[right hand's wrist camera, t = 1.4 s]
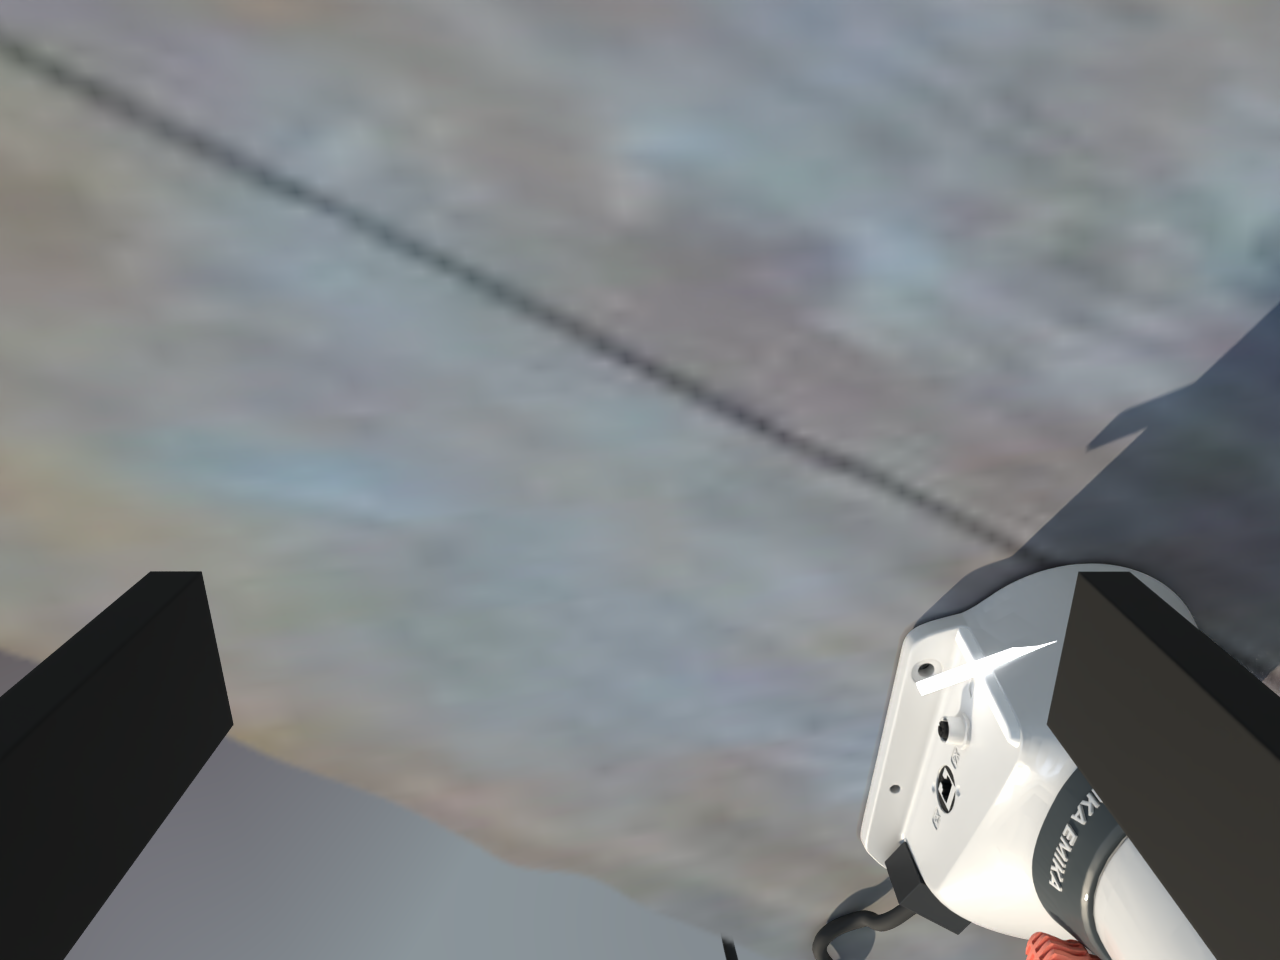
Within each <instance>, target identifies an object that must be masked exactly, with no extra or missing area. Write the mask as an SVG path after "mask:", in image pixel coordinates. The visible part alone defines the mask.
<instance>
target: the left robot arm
mask: <svg viewBox="0 0 1280 960" xmlns="http://www.w3.org/2000/svg"><path fill="white" fill-rule="evenodd" d="M1078 572H1131V573H1132V574H1133V575H1134V576H1136V577H1137V578H1138V579H1139V580H1140V581H1141V582H1143V583H1144V584H1145V585H1146V586H1147V587H1149V588H1150V589H1151V590H1152V591H1153V592H1155V593H1156V594H1157V595H1158V596H1159V597H1161V598H1162V599H1163V600H1164V601H1165V602H1167V603H1168V604H1169V605H1170V606H1171V607H1173V608H1174V609H1175V610H1176V611H1177V612H1179V613H1180V614H1181V615H1182V616H1183V617H1185V618H1186V619H1187V620H1188V621H1189V622H1191V623H1192V624H1193V625H1194V626H1195V627H1196V628H1198V627H1197V625H1196V623H1195V621H1194V619H1193V617H1192V615H1191V613H1190V611H1189V610H1188V608H1187V607H1186V605H1185V604H1184V603H1183V601H1182V600H1181V599H1180V598H1179V597H1178V596H1177V595H1176V594H1175V593H1174V592H1173V591H1172V590H1171V589H1170V588H1168V587H1167V586H1166V585H1164V584H1163V583H1161V582H1160V581H1158V580H1156V579H1155V578H1153V577H1151V576H1149V575H1147V574H1144V573H1142V572H1139V571H1136V570H1133V569H1130V568H1126V567H1122V566H1116V565H1110V564H1094V563H1087V564H1073V565H1066V566H1060V567H1055V568H1051V569H1047V570H1043V571H1040V572H1037V573H1034V574H1031V575H1029V576H1026V577H1024V578H1022V579H1019V580H1017V581H1015V582H1013V583H1011V584H1009V585H1007V586H1005V587H1004V588H1002V589H1000V590H999V591H997V592H995V593H994V594H992V595H991V596H989V597H988V598H986V599H985V600H983V601H982V602H980V603H979V604H977V605H976V606H974V607H972V608H971V609H969V610H967V611H965V612H963V613H960V614H956V615H951V616H948V617H944V618H940V619H936V620H933V621H930V622H927V623H924V624H922V625H919V626H917V627H916V628H914V629H913V630H911V631H910V632H909V633H908V634H907V636H906V638H905V639H904V642H903V646H902V650H901V654H900V659H899V663H898V667H897V672H896V676H895V681H894V685H893V690H892V694H891V698H890V703H889V707H888V712H887V716H886V720H885V725H884V729H883V734H882V738H881V743H880V747H879V751H878V756H877V760H876V765H875V769H874V773H873V778H872V782H871V787H870V791H869V796H868V800H867V804H866V809H865V813H864V818H863V823H862V827H861V836H860V837H861V841H862V843H863V845H864V847H865V849H866V851H867V852H868V853H869V854H870V855H871V856H872V857H873V858H874V859H875V860H876V861H877V862H878V863H879V864H880V865H882V866H883V867H884V868H886V869H887V871H888V874H889V877H890V880H891V882H892V885H893V888H894V891H895V894H896V897H897V900H898V902H899V905H898V906H897V907H895V908H894V909H892V910H890V911H889V912H886V913H884V914H881V915H877V914H876V913H874V912H871V911H866V910H863V911H858V912H855V913H851V914H848V915H845V916H842V917H840V918H837V919H835V920H833V921H831V922H830V923H828V924H827V925H825V926H824V927H823V928H822V929H821V930H820V931H819V932H818V933H817V935H816V937H815V940H814V942H813V949H812V950H813V954H814V956H815V959H816V960H833V959H832V958H831V957H830V956H829V954H828V953H827V946H828V945H829V943H830V942H831V941H832V940H833V939H835V938H836V937H838V936H840V935H841V934H844V933H846V932H848V931H851V930H854V929H858V928H862V927H866V926H868V927H870V928H871V929H873V930H877V931H887V930H890V929H893V928H895V927H897V926H899V925H900V924H902V923H903V922H905V921H906V920H908V919H909V918H911V917H912V916H913V915H915V914H916V913H917V914H919V915H921V916H923V917H924V918H926V919H928V920H930V921H932V922H934V923H936V924H938V925H940V926H942V927H944V928H946V929H948V930H950V931H952V932H954V933H955V934H957V935H959V934H960V933H961V932H962V931H963V930H964V929H965V928H966V927H967V926H968V925H969V924H970V923H971V922H973V923H975V924H977V925H980V926H982V927H985V928H987V929H990V930H993V931H996V932H1000V933H1003V934H1006V935H1010V936H1015V937H1019V938H1023V939H1028V940H1029V941H1028V943H1027V947H1026V955H1028V956H1027V959H1026V960H1216V958H1215V957H1214V955H1213V954H1212V953H1211V951H1210V950H1209V949H1208V947H1207V946H1206V944H1205V943H1204V942H1203V940H1202V939H1201V937H1200V936H1199V935H1198V933H1197V932H1196V931H1195V929H1194V928H1193V926H1192V925H1191V924H1190V922H1189V921H1188V920H1187V918H1186V917H1185V915H1184V914H1183V913H1182V911H1181V910H1180V908H1179V907H1178V906H1177V904H1176V903H1175V902H1174V900H1173V899H1172V897H1171V896H1170V895H1169V893H1168V892H1167V890H1166V889H1165V888H1164V886H1163V885H1162V884H1161V882H1160V881H1159V879H1158V878H1157V877H1156V875H1155V874H1154V872H1153V871H1152V870H1151V868H1150V867H1149V866H1148V864H1147V863H1146V861H1145V860H1144V859H1143V857H1142V856H1141V854H1140V853H1139V852H1138V850H1137V849H1136V848H1135V846H1134V845H1133V843H1132V842H1131V841H1130V839H1129V838H1128V837H1127V835H1126V834H1125V832H1124V831H1123V830H1122V828H1121V827H1120V825H1119V824H1118V823H1117V821H1116V820H1115V819H1114V817H1113V816H1112V814H1111V813H1110V812H1109V810H1108V809H1107V807H1106V806H1105V805H1104V803H1103V802H1102V801H1101V799H1100V798H1099V796H1098V795H1097V794H1096V792H1095V791H1094V789H1093V788H1092V787H1091V785H1090V784H1089V783H1088V781H1087V780H1086V778H1085V777H1084V776H1083V774H1082V773H1081V771H1080V770H1079V769H1078V767H1077V766H1076V765H1075V763H1074V762H1073V760H1072V759H1071V758H1070V756H1069V755H1068V753H1067V752H1066V751H1065V749H1064V748H1063V747H1062V745H1061V744H1060V742H1059V741H1058V740H1057V738H1056V737H1055V736H1054V734H1053V733H1052V731H1051V730H1050V729H1049V727H1048V726H1047V720H1048V715H1049V710H1050V706H1051V701H1052V696H1053V691H1054V686H1055V682H1056V677H1057V672H1058V667H1059V662H1060V657H1061V653H1062V648H1063V643H1064V638H1065V633H1066V629H1067V624H1068V619H1069V614H1070V609H1071V605H1072V600H1073V595H1074V590H1075V585H1076V581H1077V576H1078ZM925 663H930V664H929V666H928V667H927V668H925V669H919V667H920V666H921V665H923V664H925ZM722 943H723V948H724V952H725V957H726V960H738V957H737V953H736V949H735V945H734V942H731V941H728V940H727V939H725V938H722ZM1084 946H1085V947H1086V948H1087V949H1089V950H1090V951H1091V952H1092V954H1093V955H1092V954H1088V952H1087V950H1086V948H1085V947H1084Z"/></svg>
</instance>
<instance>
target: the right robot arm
mask: <svg viewBox="0 0 1280 960" xmlns="http://www.w3.org/2000/svg"><path fill="white" fill-rule="evenodd" d="M232 726H233V720H232V715H231V710H230V706H229V701H228V696H227V691H226V686H225V682H224V677H223V672H222V667H221V662H220V658H219V653H218V648H217V643H216V638H215V633H214V629H213V624H212V619H211V614H210V609H209V605H208V600H207V595H206V590H205V585H204V581H203V576H202V572H149V573H148V574H147V575H146V576H144V577H143V578H142V579H141V580H140V581H139V582H137V583H136V584H135V585H134V586H133V587H131V588H130V589H129V590H128V591H127V592H125V593H124V594H123V595H122V596H121V597H119V598H118V599H117V600H116V601H115V602H113V603H112V604H111V605H110V606H109V607H107V608H106V609H105V610H104V611H103V612H101V613H100V614H99V615H98V616H97V617H95V618H94V619H93V620H92V621H91V622H89V623H88V624H87V625H86V626H85V627H84V628H82V629H81V630H80V631H79V632H78V633H76V634H75V635H74V636H73V637H72V638H70V639H69V640H68V641H67V642H66V643H64V644H63V645H62V646H61V647H60V648H58V649H57V650H56V651H55V652H54V653H52V654H51V655H50V656H49V657H48V658H46V659H45V660H44V661H43V662H42V663H40V664H39V665H38V666H37V667H36V668H34V669H33V670H32V671H31V672H30V673H29V674H27V675H26V676H25V677H24V678H23V679H21V680H20V681H19V682H18V683H17V684H15V685H14V686H13V687H12V688H11V689H9V690H8V691H7V692H6V693H5V694H3V695H2V696H1V697H0V960H64V958H65V957H66V955H67V954H68V953H69V951H70V950H71V949H72V947H73V946H74V944H75V943H76V942H77V940H78V939H79V937H80V936H81V935H82V933H83V932H84V930H85V929H86V928H87V926H88V925H89V924H90V922H91V921H92V919H93V918H94V917H95V915H96V914H97V913H98V911H99V910H100V908H101V907H102V906H103V904H104V903H105V902H106V900H107V899H108V897H109V896H110V895H111V893H112V892H113V890H114V889H115V888H116V886H117V885H118V883H119V882H120V881H121V879H122V878H123V877H124V875H125V874H126V872H127V871H128V870H129V868H130V867H131V866H132V864H133V863H134V861H135V860H136V859H137V857H138V856H139V854H140V853H141V852H142V850H143V849H144V848H145V846H146V845H147V843H148V842H149V841H150V839H151V838H152V836H153V835H154V834H155V832H156V831H157V829H158V828H159V827H160V825H161V824H162V823H163V821H164V820H165V819H166V817H167V816H168V814H169V813H170V812H171V810H172V809H173V807H174V806H175V805H176V803H177V802H178V801H179V799H180V798H181V796H182V795H183V794H184V792H185V791H186V789H187V788H188V787H189V785H190V784H191V783H192V781H193V780H194V778H195V777H196V776H197V774H198V773H199V771H200V770H201V769H202V767H203V766H204V764H205V763H206V762H207V760H208V759H209V758H210V756H211V755H212V753H213V752H214V751H215V749H216V748H217V747H218V745H219V744H220V742H221V741H222V740H223V738H224V737H225V736H226V734H227V733H228V731H229V730H230V729H231V727H232ZM1047 726H1048V727H1049V729H1050V730H1051V731H1052V733H1053V734H1054V736H1055V737H1056V738H1057V740H1058V741H1059V742H1060V744H1061V745H1062V747H1063V748H1064V749H1065V751H1066V752H1067V753H1068V755H1069V756H1070V758H1071V759H1072V760H1073V762H1074V763H1075V765H1076V766H1077V767H1078V769H1079V770H1080V771H1081V773H1082V774H1083V776H1084V777H1085V778H1086V780H1087V781H1088V783H1089V784H1090V785H1091V787H1092V788H1093V789H1094V791H1095V792H1096V794H1097V795H1098V796H1099V798H1100V799H1101V801H1102V802H1103V803H1104V805H1105V806H1106V807H1107V809H1108V810H1109V812H1110V813H1111V814H1112V816H1113V817H1114V819H1115V820H1116V821H1117V823H1118V824H1119V825H1120V827H1121V828H1122V830H1123V831H1124V832H1125V834H1126V835H1127V837H1128V838H1129V839H1130V841H1131V842H1132V843H1133V845H1134V846H1135V848H1136V849H1137V850H1138V852H1139V853H1140V854H1141V856H1142V857H1143V859H1144V860H1145V861H1146V863H1147V864H1148V866H1149V867H1150V868H1151V870H1152V871H1153V872H1154V874H1155V875H1156V877H1157V878H1158V879H1159V881H1160V882H1161V884H1162V885H1163V886H1164V888H1165V889H1166V890H1167V892H1168V893H1169V895H1170V896H1171V897H1172V899H1173V900H1174V902H1175V903H1176V904H1177V906H1178V907H1179V908H1180V910H1181V911H1182V913H1183V914H1184V915H1185V917H1186V918H1187V920H1188V921H1189V922H1190V924H1191V925H1192V926H1193V928H1194V929H1195V931H1196V932H1197V933H1198V935H1199V936H1200V937H1201V939H1202V940H1203V942H1204V943H1205V944H1206V946H1207V947H1208V949H1209V950H1210V951H1211V953H1212V954H1213V955H1214V957H1215V958H1216V960H1280V697H1279V696H1278V695H1277V694H1275V693H1274V692H1273V691H1272V690H1271V689H1269V688H1268V687H1267V686H1266V685H1265V684H1263V683H1262V682H1261V681H1260V680H1259V679H1257V678H1256V677H1255V676H1254V675H1253V674H1251V673H1250V672H1249V671H1248V670H1247V669H1246V668H1244V667H1243V666H1242V665H1241V664H1240V663H1238V662H1237V661H1236V660H1235V659H1234V658H1232V657H1231V656H1230V655H1229V654H1228V653H1226V652H1225V651H1224V650H1223V649H1222V648H1220V647H1219V646H1218V645H1217V644H1216V643H1214V642H1213V641H1212V640H1211V639H1210V638H1208V637H1207V636H1206V635H1205V634H1204V633H1202V632H1201V631H1200V630H1199V629H1198V628H1196V627H1195V626H1194V625H1193V624H1192V623H1191V622H1189V621H1188V620H1187V619H1186V618H1185V617H1183V616H1182V615H1181V614H1180V613H1179V612H1177V611H1176V610H1175V609H1174V608H1173V607H1171V606H1170V605H1169V604H1168V603H1167V602H1165V601H1164V600H1163V599H1162V598H1161V597H1159V596H1158V595H1157V594H1156V593H1155V592H1153V591H1152V590H1151V589H1150V588H1149V587H1147V586H1146V585H1145V584H1144V583H1143V582H1141V581H1140V580H1139V579H1138V578H1137V577H1136V576H1134V575H1133V574H1132V573H1131V572H1078V576H1077V581H1076V585H1075V590H1074V595H1073V600H1072V605H1071V609H1070V614H1069V619H1068V624H1067V629H1066V633H1065V638H1064V643H1063V648H1062V653H1061V657H1060V662H1059V667H1058V672H1057V677H1056V682H1055V686H1054V691H1053V696H1052V701H1051V706H1050V710H1049V715H1048V720H1047Z"/></svg>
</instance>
